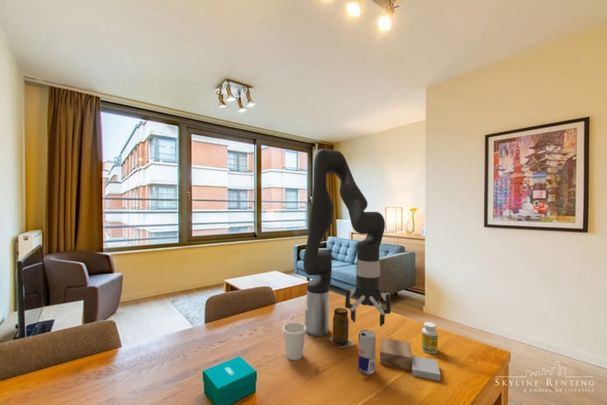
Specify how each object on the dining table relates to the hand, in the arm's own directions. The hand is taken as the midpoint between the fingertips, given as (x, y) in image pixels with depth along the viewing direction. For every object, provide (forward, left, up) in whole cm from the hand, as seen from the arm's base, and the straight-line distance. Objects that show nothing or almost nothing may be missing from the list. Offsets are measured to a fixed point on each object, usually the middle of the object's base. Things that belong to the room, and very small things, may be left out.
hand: (367, 323), depth 89 cm
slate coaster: (+18, +6, -15) cm, 24 cm away
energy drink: (0, 0, -16) cm, 16 cm away
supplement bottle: (+21, +20, -16) cm, 33 cm away
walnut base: (+9, +10, -15) cm, 20 cm away
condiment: (-11, +15, -16) cm, 24 cm away
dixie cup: (-25, 0, -16) cm, 30 cm away
